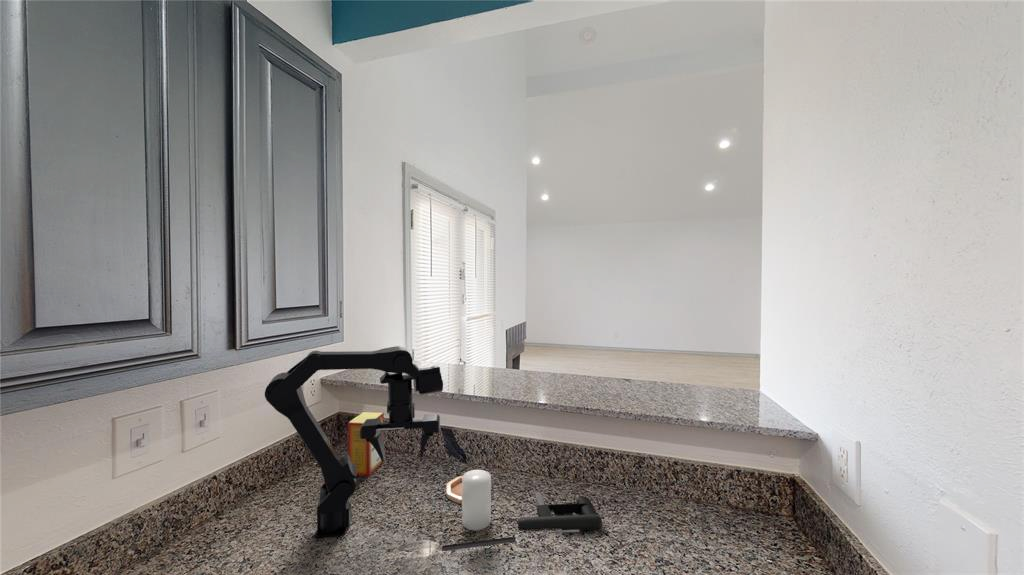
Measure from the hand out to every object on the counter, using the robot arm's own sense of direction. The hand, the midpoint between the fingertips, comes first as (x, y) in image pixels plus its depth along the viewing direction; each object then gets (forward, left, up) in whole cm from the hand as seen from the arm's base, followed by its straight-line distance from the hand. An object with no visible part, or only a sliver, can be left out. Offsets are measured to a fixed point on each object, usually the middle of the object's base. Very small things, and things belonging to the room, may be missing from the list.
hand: (402, 459), depth 93 cm
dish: (+17, +4, -13) cm, 22 cm away
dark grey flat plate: (+18, -10, -13) cm, 24 cm away
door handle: (+38, -8, -14) cm, 41 cm away
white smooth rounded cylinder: (+18, -9, -13) cm, 23 cm away
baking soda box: (-13, +24, -13) cm, 31 cm away
